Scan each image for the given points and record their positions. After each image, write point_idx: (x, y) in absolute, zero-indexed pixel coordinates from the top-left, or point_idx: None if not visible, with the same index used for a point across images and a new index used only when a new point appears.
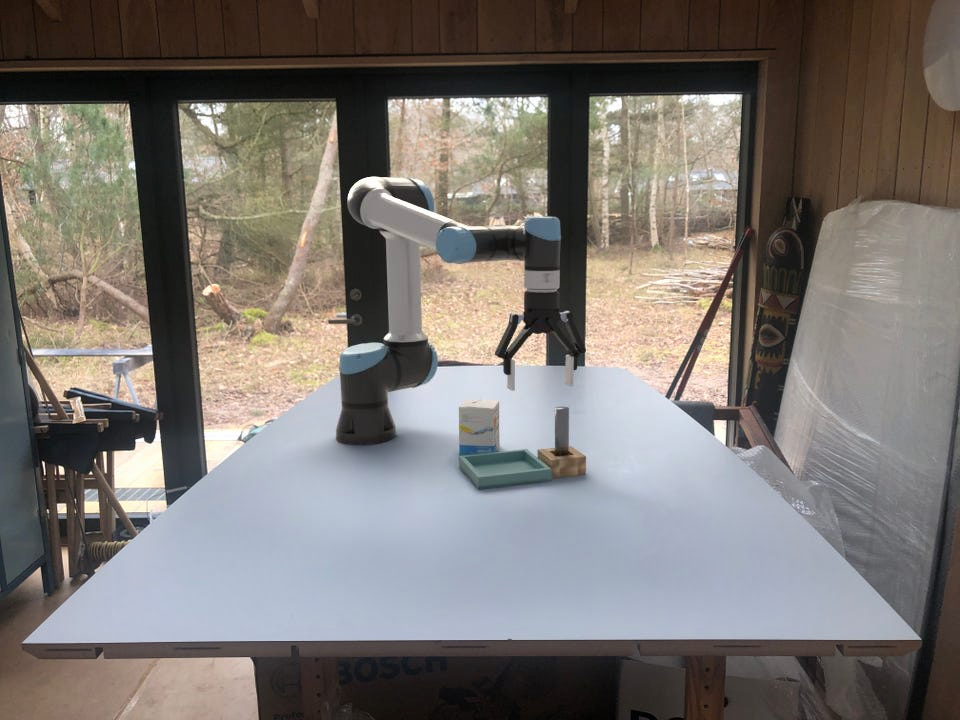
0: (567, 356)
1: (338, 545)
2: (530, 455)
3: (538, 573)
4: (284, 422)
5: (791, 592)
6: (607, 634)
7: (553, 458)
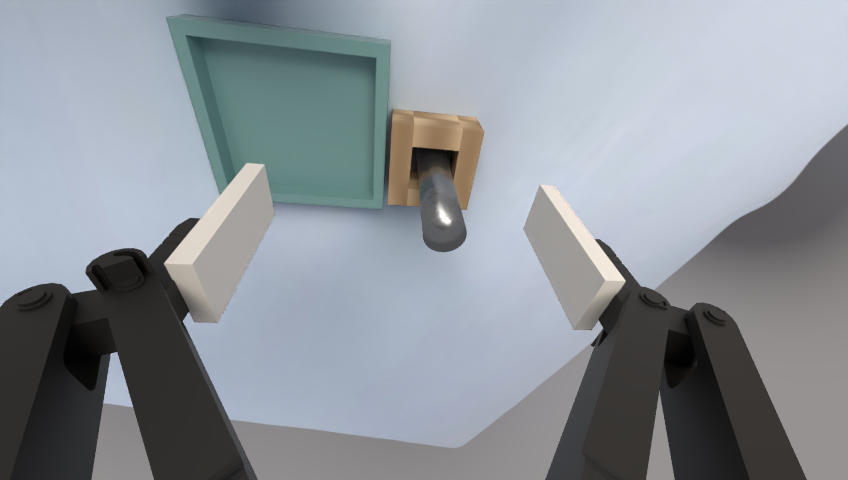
0: (590, 297)
1: (18, 292)
2: (376, 108)
3: (273, 379)
4: None
5: (441, 422)
6: (300, 427)
7: (397, 196)
